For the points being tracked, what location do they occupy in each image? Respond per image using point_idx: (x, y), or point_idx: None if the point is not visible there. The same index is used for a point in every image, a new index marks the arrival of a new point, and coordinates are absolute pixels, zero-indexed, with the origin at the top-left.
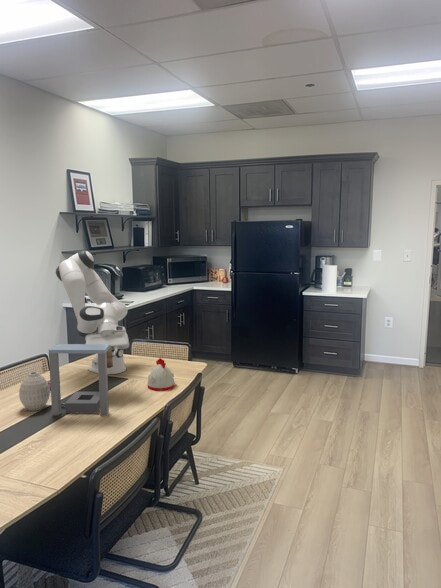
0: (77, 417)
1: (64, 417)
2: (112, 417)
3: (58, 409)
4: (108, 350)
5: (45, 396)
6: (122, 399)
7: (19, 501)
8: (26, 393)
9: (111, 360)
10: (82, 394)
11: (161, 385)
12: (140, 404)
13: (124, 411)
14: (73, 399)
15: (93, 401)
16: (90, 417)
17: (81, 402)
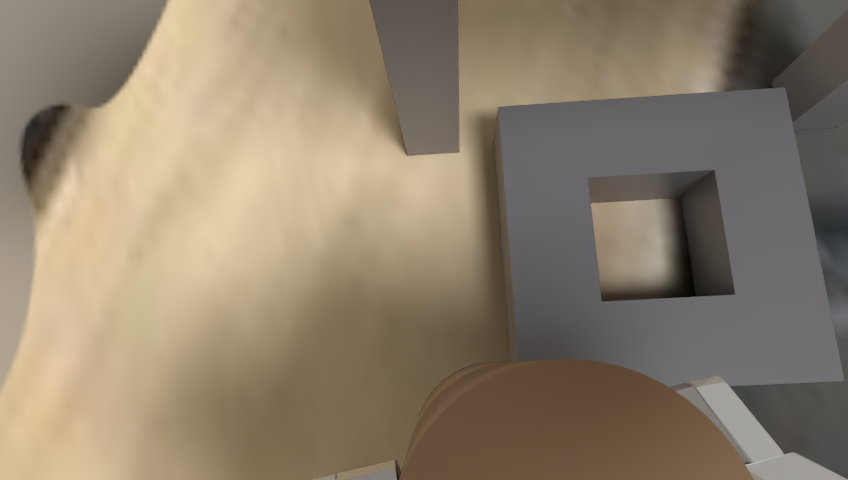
0: (612, 61)
1: (709, 54)
2: (356, 81)
3: (798, 57)
4: (471, 383)
5: None
6: (366, 434)
7: None
8: None
9: (417, 423)
10: (727, 305)
11: None
12: (189, 328)
13: (292, 185)
14: (753, 175)
15: (543, 144)
16: (516, 69)
17: (643, 114)
